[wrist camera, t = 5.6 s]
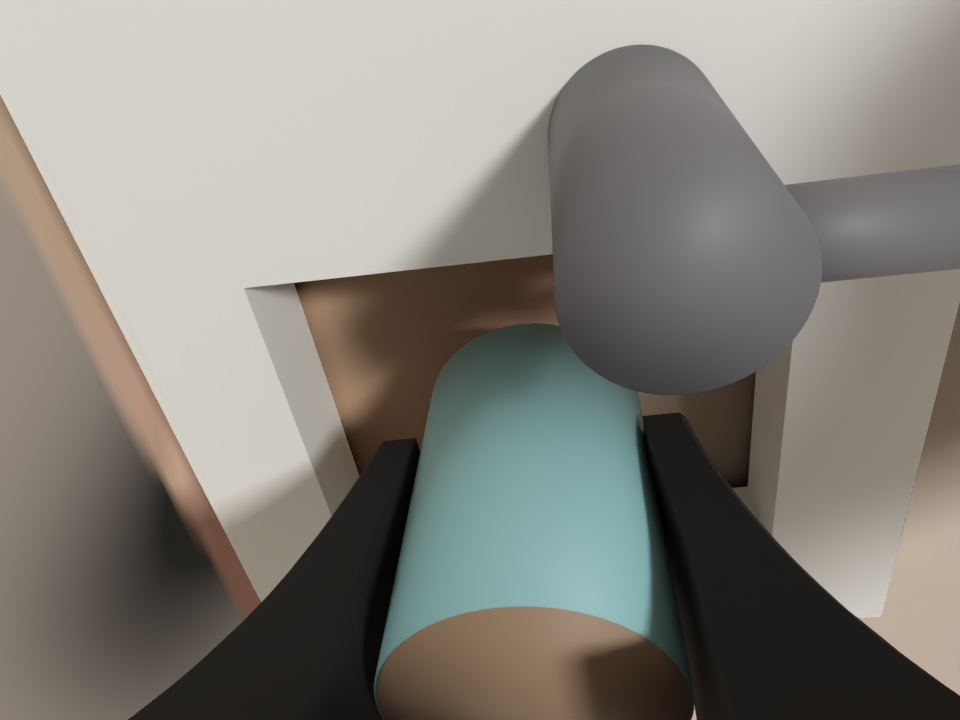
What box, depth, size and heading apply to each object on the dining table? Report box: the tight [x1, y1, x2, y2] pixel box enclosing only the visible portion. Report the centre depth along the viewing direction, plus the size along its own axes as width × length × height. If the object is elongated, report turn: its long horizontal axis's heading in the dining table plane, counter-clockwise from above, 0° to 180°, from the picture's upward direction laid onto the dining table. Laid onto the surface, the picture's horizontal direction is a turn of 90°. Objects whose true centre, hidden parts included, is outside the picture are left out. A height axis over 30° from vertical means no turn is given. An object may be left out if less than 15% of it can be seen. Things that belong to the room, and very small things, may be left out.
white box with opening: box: [0, 0, 960, 618], centre depth 11 cm, size 14×20×6 cm
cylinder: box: [374, 323, 695, 720], centre depth 12 cm, size 4×4×6 cm
